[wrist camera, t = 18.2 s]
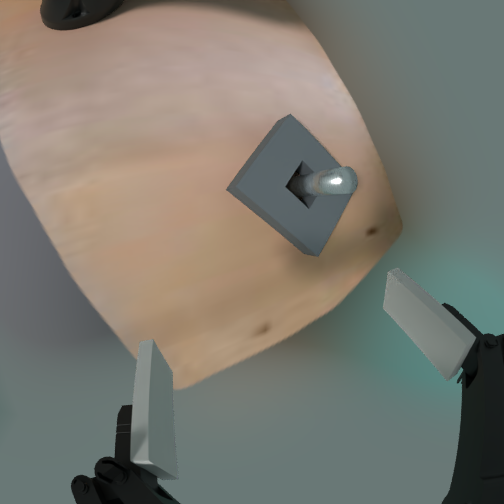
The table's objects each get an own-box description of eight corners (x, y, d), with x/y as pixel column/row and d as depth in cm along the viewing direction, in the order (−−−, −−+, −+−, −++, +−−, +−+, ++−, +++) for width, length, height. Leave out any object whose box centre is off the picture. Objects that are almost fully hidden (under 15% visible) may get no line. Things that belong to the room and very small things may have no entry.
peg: (279, 188, 39) (334, 180, 28) (290, 172, 40) (345, 160, 29) (294, 202, 40) (350, 199, 30) (304, 186, 41) (360, 179, 30)
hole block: (225, 189, 36) (235, 186, 33) (278, 120, 38) (290, 113, 35) (304, 253, 42) (318, 256, 39) (342, 186, 44) (356, 185, 41)
